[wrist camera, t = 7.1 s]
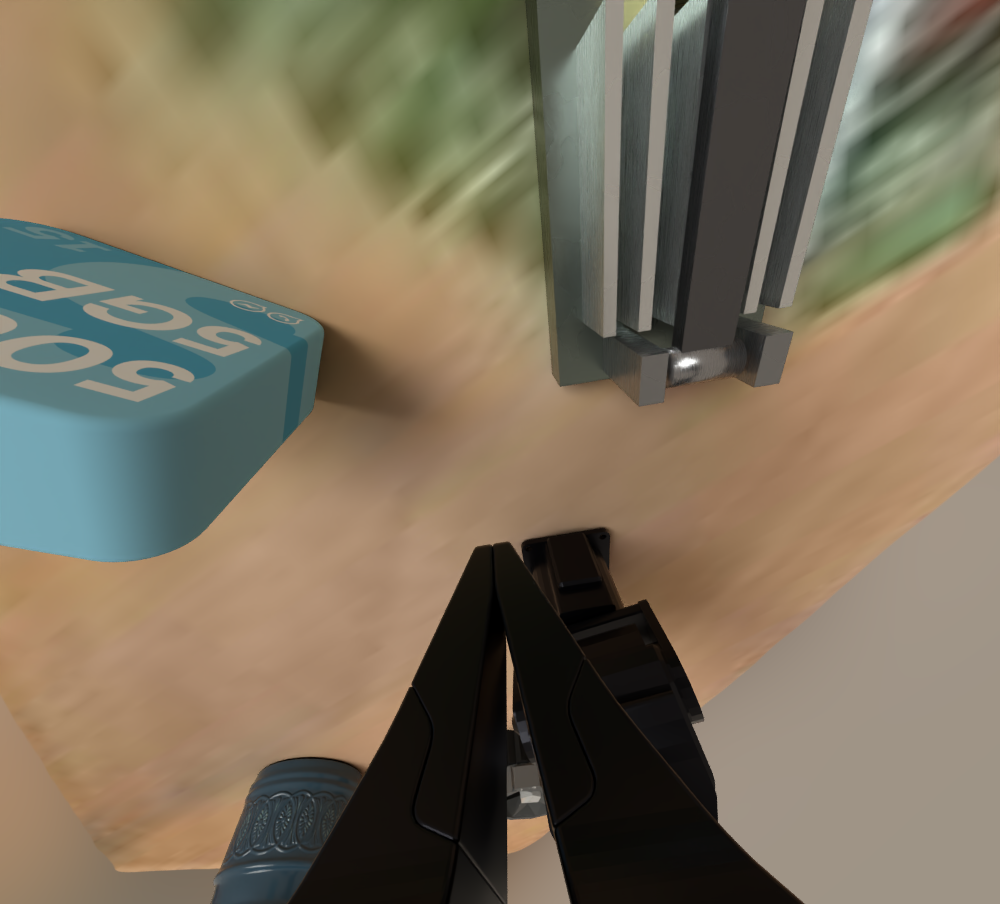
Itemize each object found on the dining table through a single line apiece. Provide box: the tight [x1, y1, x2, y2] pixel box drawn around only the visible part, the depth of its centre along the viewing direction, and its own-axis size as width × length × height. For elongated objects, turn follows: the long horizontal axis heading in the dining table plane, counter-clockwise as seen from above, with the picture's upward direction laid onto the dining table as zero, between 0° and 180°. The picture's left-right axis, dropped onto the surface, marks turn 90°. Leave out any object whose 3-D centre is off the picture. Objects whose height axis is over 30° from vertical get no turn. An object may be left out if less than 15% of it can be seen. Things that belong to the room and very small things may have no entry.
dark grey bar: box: [662, 0, 806, 388], centre depth 12 cm, size 13×3×2 cm, turn 8°
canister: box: [210, 759, 362, 904], centre depth 38 cm, size 13×13×18 cm
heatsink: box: [526, 0, 873, 406], centre depth 13 cm, size 15×10×6 cm, turn 8°
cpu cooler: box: [507, 730, 547, 820], centre depth 43 cm, size 10×6×10 cm
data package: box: [0, 218, 324, 562], centre depth 12 cm, size 12×4×12 cm, turn 68°
